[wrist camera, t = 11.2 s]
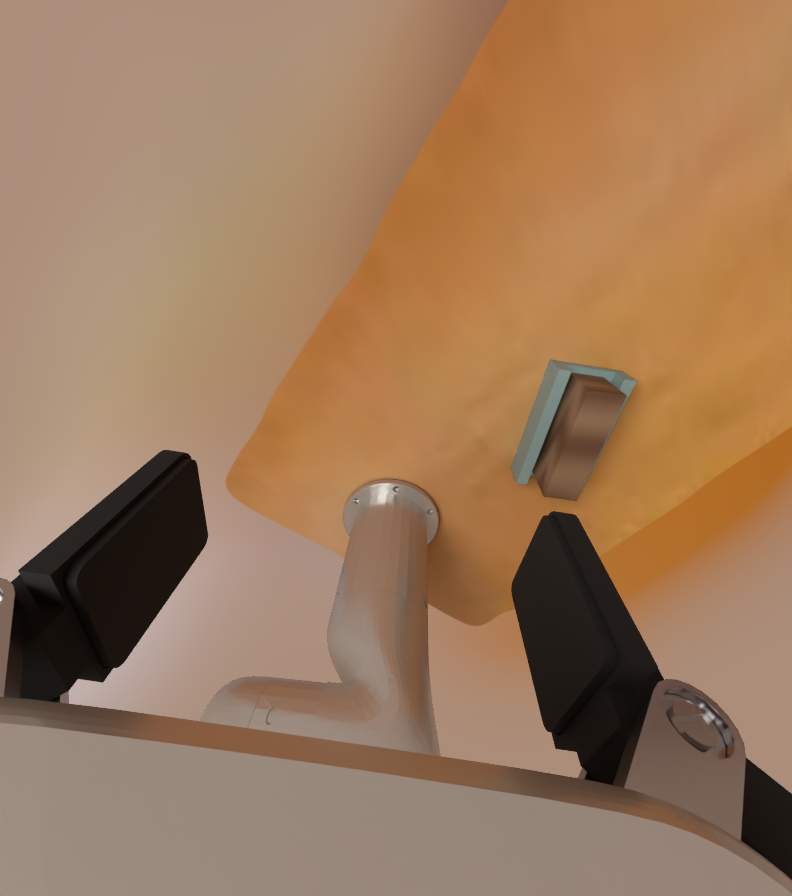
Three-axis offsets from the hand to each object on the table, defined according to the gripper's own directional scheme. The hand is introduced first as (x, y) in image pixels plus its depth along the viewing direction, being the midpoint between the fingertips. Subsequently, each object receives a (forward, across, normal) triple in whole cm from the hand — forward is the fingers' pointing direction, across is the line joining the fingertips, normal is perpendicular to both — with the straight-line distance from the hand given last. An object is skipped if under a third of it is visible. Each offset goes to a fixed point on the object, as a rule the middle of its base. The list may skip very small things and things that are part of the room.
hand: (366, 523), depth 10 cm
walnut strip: (+29, -19, +9) cm, 36 cm away
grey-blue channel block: (+30, -19, +9) cm, 37 cm away
